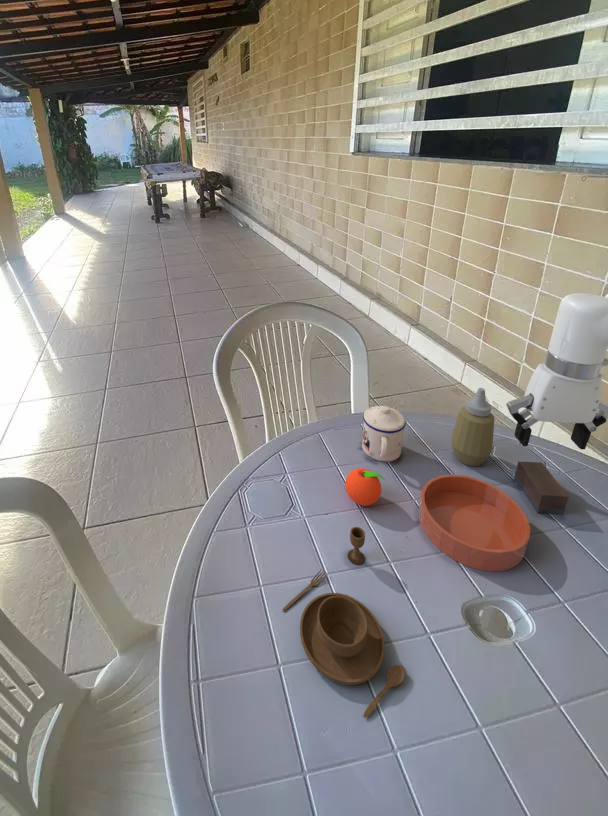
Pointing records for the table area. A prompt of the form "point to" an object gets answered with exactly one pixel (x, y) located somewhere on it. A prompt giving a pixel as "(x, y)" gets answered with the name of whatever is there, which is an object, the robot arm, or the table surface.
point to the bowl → (474, 522)
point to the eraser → (541, 488)
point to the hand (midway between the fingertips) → (548, 442)
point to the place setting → (345, 634)
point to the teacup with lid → (383, 433)
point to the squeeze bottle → (474, 431)
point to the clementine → (363, 486)
